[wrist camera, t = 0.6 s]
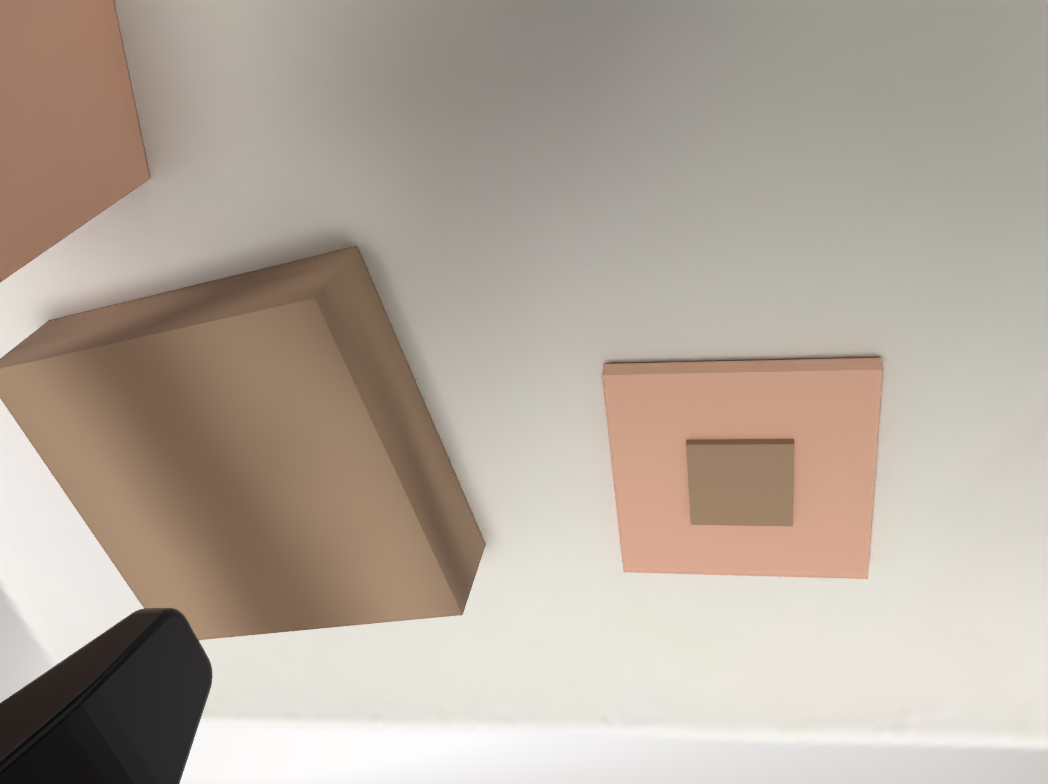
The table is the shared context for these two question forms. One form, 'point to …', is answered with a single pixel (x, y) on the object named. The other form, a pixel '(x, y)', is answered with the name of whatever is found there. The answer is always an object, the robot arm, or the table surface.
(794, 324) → the table surface
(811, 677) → the table surface
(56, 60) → the terracotta block
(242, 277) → the walnut slab
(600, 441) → the table surface
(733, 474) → the tile
